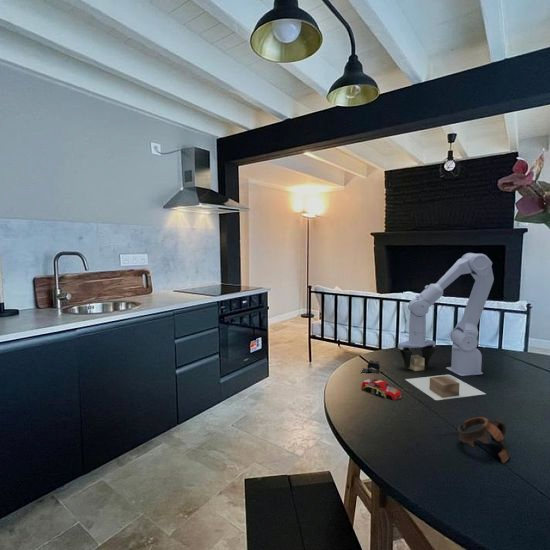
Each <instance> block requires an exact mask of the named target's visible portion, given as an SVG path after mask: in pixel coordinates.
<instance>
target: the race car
mask: <svg viewBox="0 0 550 550" xmlns="http://www.w3.org/2000/svg"><path fill="white" fill-rule="evenodd" d="M361 389H362V390H363V391H365V392H367V393H369V394H373V395H375V396H378V397H381V398H382V399H384V400H386V399H388V400H391V401H399V400H401V399H402V397H403V396H402V392H401V391H400V390H399V389H397V388H395V387H394V386H392V384H390V383H388V382H386V381H385V380H381V379H378V378H366V379H364V380H363V381H362V383H361Z"/></svg>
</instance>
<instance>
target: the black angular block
mask: <svg viewBox="0 0 550 550" xmlns="http://www.w3.org/2000/svg"><path fill="white" fill-rule="evenodd" d="M367 363H368V364H367V366H366V367H367V368H364V367H362V369H363V370H362V369H361V370H362V372H361V371H360V372H361V373H360V374H362V373H366V374H380V373H384V370H381V368H382V366H381V362H380V361H377V360H372V359H371V360H369V362H367ZM366 374H365V375H366Z"/></svg>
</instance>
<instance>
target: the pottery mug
mask: <svg viewBox="0 0 550 550" xmlns="http://www.w3.org/2000/svg"><path fill="white" fill-rule="evenodd" d="M463 424H464V425H463ZM463 424H460V425H458V426H457V429H456V430H457V432H458V433H459V435H458V439H459V442H462V443H464V444H469V446H471V447H472V448H474V447H475V440H478V441H479V442H481V443H482V444H486V445H488V444H490V440H489V436H490V439H491V442H494V443H496V444H498V445H499V444H500V445H501V448H502V449H501V451H499V452H498V453H497V454H498V457H499V458H500V462H501V463H502V464H505V463H506V462H507V461H508V460H509V459H510V452H509V449H508V447H507V444H506V443H507V442H506V440H505V436H506V433H507V428H506V427H507V426H506V424H505V423H504V421H502V420H501V419H499V418H493V419H491V420H489V419H488V418H486V417H482V416H476V417H473V418H469V419H466V420H465V421H463ZM478 425H481V426H480V427H479V428H477V429H476V428H475V429H474V430H470V431H467V430H468V429H470V428H471V427H473V426H478ZM488 434H489V435H488Z"/></svg>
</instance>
